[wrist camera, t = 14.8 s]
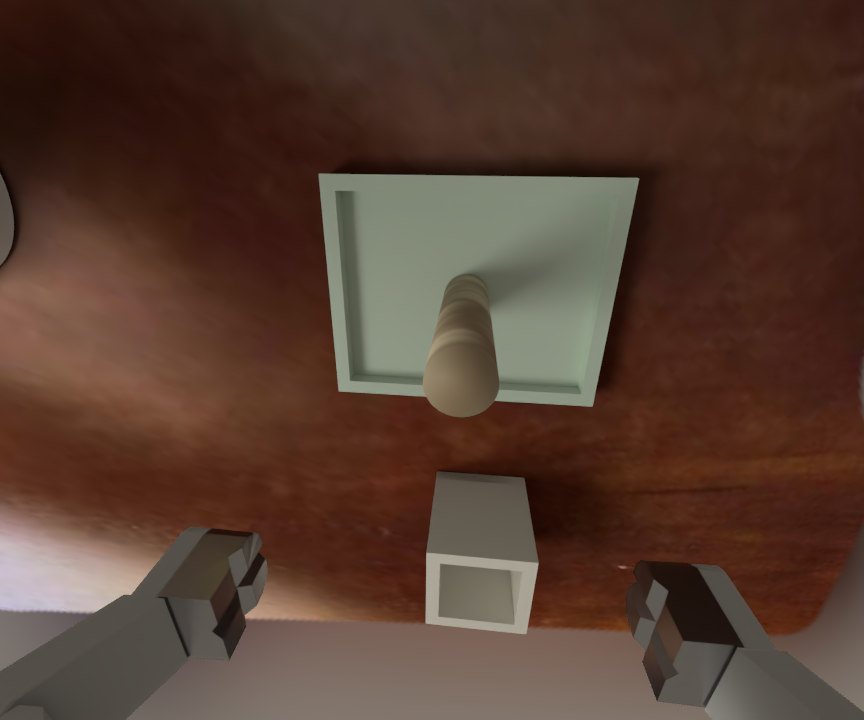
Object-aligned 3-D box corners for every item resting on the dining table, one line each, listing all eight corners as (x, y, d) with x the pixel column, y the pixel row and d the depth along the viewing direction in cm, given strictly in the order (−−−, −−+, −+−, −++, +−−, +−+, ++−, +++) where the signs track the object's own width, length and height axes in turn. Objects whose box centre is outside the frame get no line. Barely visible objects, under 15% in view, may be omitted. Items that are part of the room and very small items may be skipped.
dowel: (443, 315, 30) (422, 414, 18) (445, 273, 29) (422, 347, 16) (486, 317, 30) (496, 419, 17) (489, 274, 29) (502, 350, 16)
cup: (435, 534, 41) (425, 623, 32) (437, 471, 37) (426, 552, 29) (515, 541, 40) (526, 634, 32) (524, 477, 37) (538, 563, 28)
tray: (346, 380, 34) (338, 391, 32) (328, 174, 28) (318, 173, 26) (586, 394, 33) (592, 406, 31) (627, 178, 26) (639, 177, 24)
